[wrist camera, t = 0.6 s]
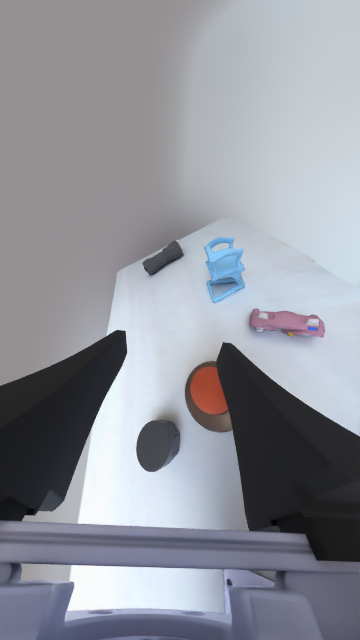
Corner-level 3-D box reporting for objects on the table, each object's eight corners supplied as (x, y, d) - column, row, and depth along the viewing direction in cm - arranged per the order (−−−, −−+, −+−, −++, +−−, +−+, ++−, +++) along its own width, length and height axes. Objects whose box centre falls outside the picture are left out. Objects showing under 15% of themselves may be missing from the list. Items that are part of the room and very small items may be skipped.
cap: (178, 467, 19) (166, 477, 15) (147, 459, 20) (131, 466, 17) (181, 422, 21) (172, 423, 18) (154, 418, 23) (141, 418, 20)
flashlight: (151, 278, 49) (143, 265, 45) (146, 272, 53) (139, 260, 49) (185, 256, 50) (180, 241, 46) (179, 251, 53) (174, 238, 49)
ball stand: (255, 437, 18) (257, 439, 16) (184, 426, 21) (180, 427, 19) (242, 362, 23) (243, 358, 22) (188, 362, 26) (184, 359, 25)
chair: (248, 293, 31) (253, 241, 22) (213, 303, 33) (203, 259, 24) (237, 273, 36) (237, 224, 26) (206, 284, 37) (196, 241, 28)
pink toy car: (247, 330, 28) (246, 328, 21) (252, 309, 28) (251, 300, 22) (311, 342, 23) (333, 343, 17) (316, 316, 23) (339, 308, 17)
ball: (237, 417, 19) (237, 417, 14) (195, 412, 21) (183, 411, 16) (231, 372, 22) (230, 360, 17) (196, 372, 24) (186, 361, 19)
